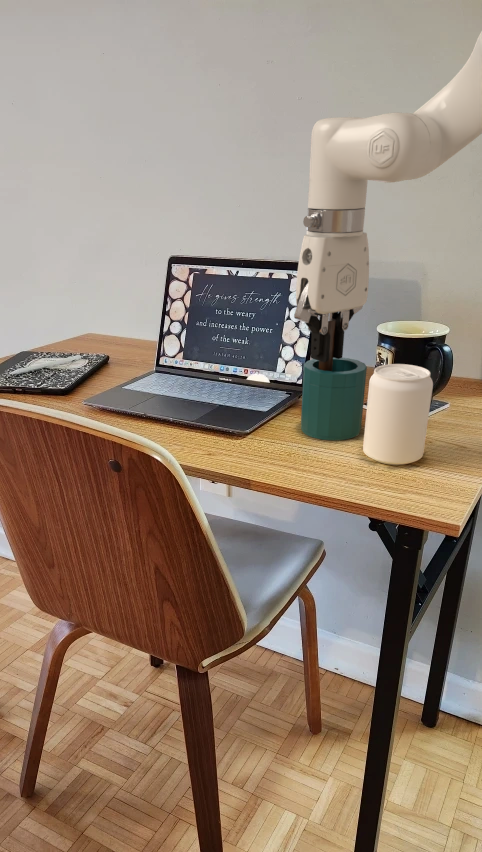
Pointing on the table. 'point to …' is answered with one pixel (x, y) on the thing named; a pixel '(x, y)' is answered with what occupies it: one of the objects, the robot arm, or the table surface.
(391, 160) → the robot arm
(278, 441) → the table surface
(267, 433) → the table surface
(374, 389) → the beverage can
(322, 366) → the brown and orange pestle
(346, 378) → the jar
